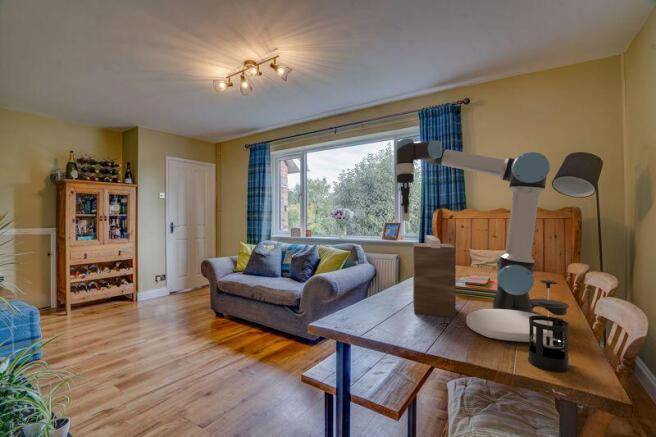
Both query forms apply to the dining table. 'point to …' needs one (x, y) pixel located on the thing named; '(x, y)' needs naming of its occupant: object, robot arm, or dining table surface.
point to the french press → (548, 347)
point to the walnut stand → (434, 280)
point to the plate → (504, 324)
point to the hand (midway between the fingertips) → (405, 220)
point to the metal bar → (432, 241)
